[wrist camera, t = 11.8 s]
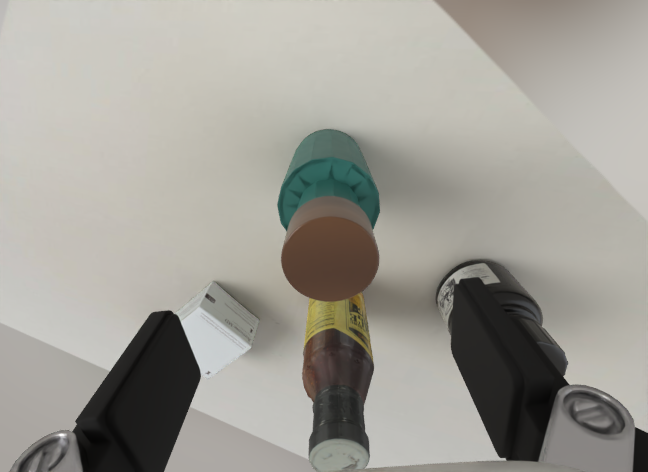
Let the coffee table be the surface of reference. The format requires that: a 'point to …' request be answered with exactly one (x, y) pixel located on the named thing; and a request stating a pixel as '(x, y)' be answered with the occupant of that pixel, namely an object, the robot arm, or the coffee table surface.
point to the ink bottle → (502, 303)
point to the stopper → (330, 250)
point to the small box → (217, 328)
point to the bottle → (328, 175)
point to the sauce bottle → (338, 382)
